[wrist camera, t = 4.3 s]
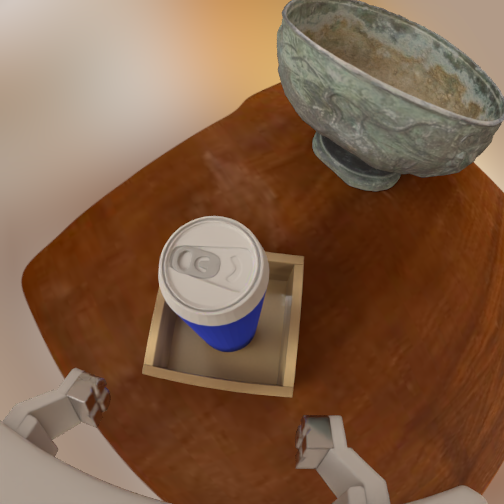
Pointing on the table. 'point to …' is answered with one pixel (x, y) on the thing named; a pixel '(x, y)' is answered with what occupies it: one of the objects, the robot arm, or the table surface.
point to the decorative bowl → (383, 93)
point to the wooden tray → (242, 361)
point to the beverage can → (215, 280)
